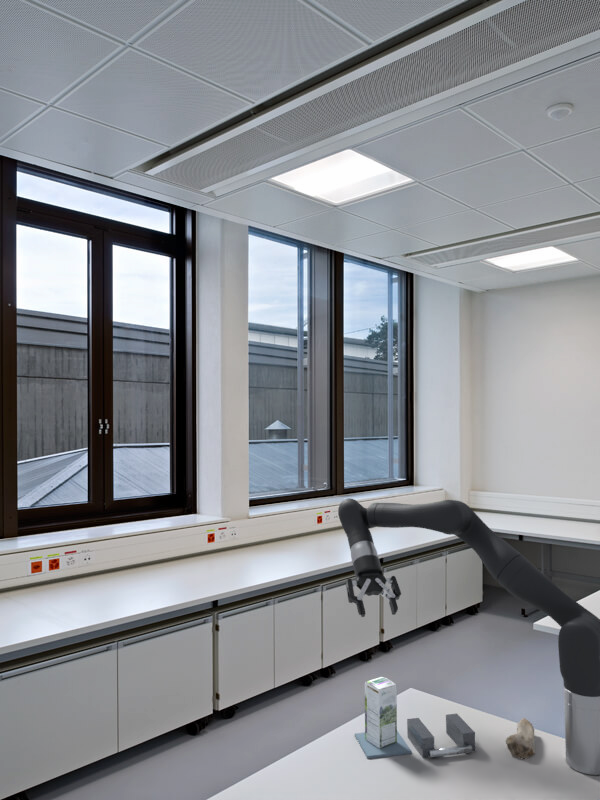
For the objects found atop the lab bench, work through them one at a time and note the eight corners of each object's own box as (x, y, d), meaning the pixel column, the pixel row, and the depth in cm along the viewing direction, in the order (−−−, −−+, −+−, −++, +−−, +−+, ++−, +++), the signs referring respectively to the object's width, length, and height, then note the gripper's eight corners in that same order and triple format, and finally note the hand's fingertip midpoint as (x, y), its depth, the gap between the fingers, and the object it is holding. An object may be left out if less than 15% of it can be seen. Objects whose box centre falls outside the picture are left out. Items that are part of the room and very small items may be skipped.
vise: (457, 731, 162) (456, 713, 162) (478, 754, 150) (477, 735, 150) (407, 737, 159) (407, 719, 159) (425, 761, 148) (424, 741, 148)
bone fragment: (532, 762, 147) (531, 742, 147) (504, 755, 150) (503, 735, 150) (544, 737, 158) (543, 718, 159) (518, 731, 162) (517, 713, 162)
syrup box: (382, 733, 160) (381, 675, 161) (398, 742, 155) (396, 683, 156) (364, 739, 157) (363, 680, 157) (380, 749, 152) (379, 688, 152)
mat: (395, 731, 162) (395, 728, 162) (411, 753, 151) (411, 750, 151) (354, 736, 160) (354, 733, 160) (367, 758, 149) (367, 756, 149)
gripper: (343, 555, 174) (355, 609, 163) (392, 552, 177) (408, 605, 166) (339, 570, 179) (350, 623, 168) (387, 567, 182) (401, 619, 171)
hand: (379, 614), depth 167 cm, fingers open, 8 cm apart
